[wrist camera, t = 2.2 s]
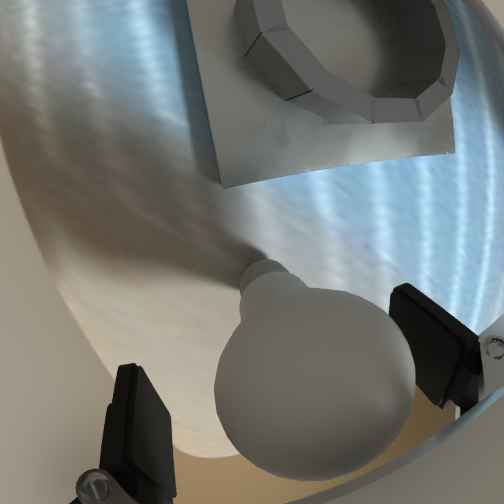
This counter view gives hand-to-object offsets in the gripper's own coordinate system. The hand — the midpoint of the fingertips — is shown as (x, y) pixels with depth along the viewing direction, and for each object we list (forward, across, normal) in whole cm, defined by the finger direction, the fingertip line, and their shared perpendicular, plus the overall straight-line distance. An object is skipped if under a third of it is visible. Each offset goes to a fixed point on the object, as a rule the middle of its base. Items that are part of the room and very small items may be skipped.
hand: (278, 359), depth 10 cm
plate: (+6, -7, -12) cm, 15 cm away
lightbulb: (+6, -1, 0) cm, 6 cm away
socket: (+6, -7, -12) cm, 15 cm away
